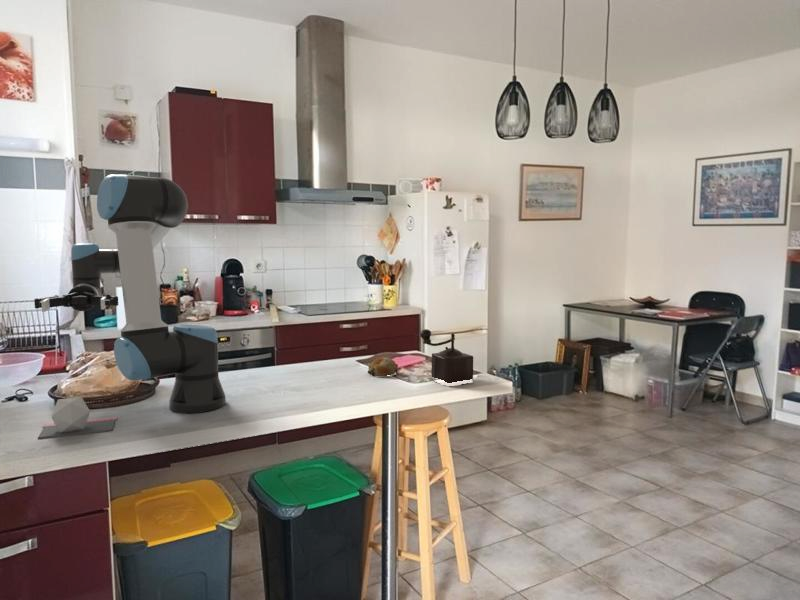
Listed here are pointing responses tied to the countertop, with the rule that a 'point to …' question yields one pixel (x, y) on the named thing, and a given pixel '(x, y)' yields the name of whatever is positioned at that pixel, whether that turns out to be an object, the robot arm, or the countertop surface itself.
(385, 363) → the mottled brown round lump
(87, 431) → the mat
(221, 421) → the countertop surface
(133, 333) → the robot arm
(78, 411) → the die
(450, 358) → the manual coffee grinder
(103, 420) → the line
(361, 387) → the countertop surface
